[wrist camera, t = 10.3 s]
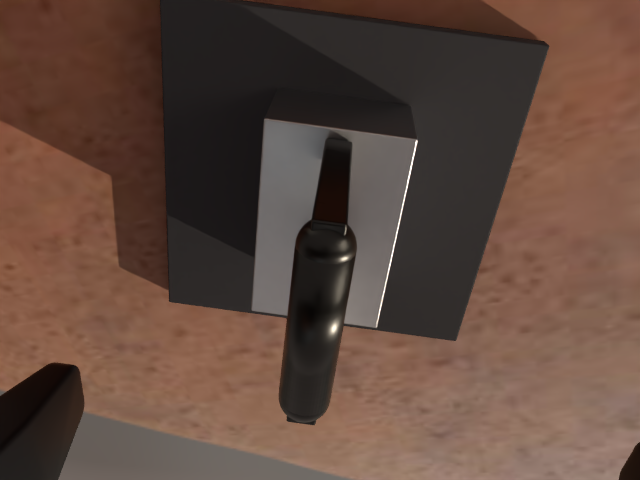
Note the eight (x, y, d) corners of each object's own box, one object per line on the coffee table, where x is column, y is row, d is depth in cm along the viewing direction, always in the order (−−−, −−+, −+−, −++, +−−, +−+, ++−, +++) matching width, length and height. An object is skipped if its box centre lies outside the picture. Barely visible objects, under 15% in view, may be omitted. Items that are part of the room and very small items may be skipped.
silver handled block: (376, 278, 22) (378, 454, 15) (264, 263, 22) (217, 432, 16) (411, 105, 19) (436, 234, 12) (277, 87, 19) (223, 205, 12)
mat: (454, 332, 24) (456, 341, 24) (172, 293, 24) (168, 302, 24) (545, 40, 18) (549, 45, 18) (165, -11, 18) (159, -8, 18)
